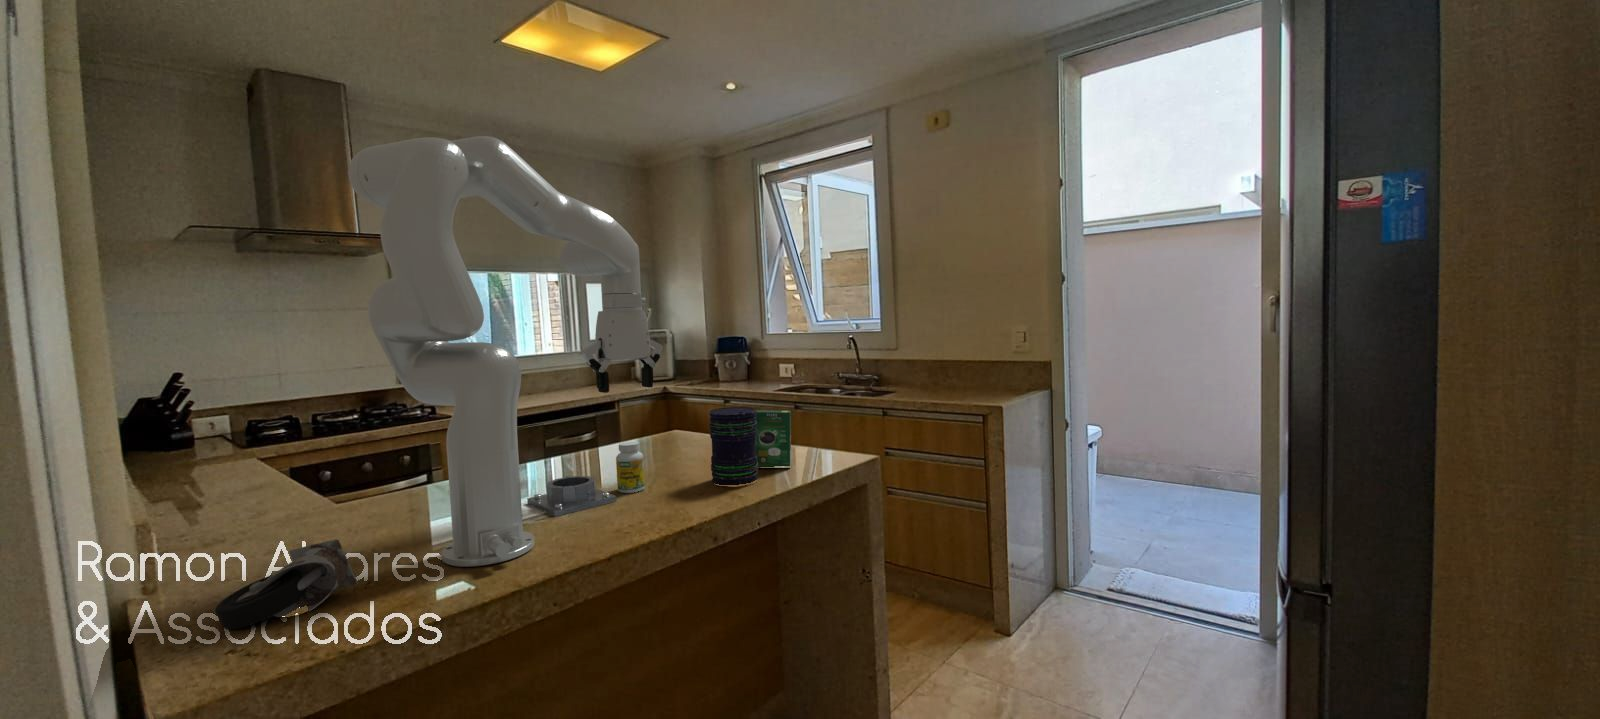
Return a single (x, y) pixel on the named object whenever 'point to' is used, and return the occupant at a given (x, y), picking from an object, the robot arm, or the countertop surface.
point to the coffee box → (773, 438)
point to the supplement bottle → (630, 468)
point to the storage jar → (733, 445)
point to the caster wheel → (290, 586)
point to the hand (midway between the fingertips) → (626, 389)
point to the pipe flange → (570, 496)
